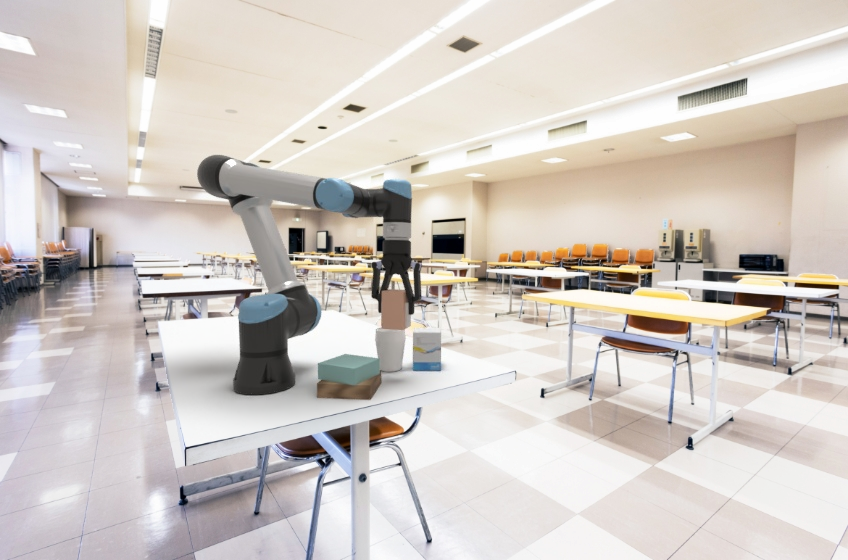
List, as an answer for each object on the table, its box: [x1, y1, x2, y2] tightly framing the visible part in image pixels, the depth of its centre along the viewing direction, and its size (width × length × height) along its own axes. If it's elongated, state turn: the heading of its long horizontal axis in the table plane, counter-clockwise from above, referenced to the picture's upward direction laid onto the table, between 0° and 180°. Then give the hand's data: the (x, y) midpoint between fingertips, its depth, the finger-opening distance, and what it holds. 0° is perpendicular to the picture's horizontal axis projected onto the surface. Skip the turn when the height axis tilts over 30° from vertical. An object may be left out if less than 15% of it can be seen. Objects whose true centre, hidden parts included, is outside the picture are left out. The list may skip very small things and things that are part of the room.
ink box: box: [412, 326, 442, 372], centre depth 125 cm, size 9×8×12 cm
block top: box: [317, 353, 380, 385], centre depth 104 cm, size 11×11×4 cm
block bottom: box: [316, 370, 382, 401], centre depth 104 cm, size 13×13×4 cm
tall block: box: [380, 288, 408, 330], centre depth 110 cm, size 6×6×10 cm
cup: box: [374, 327, 407, 373], centre depth 123 cm, size 9×9×12 cm
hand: (395, 325), depth 110 cm, fingers closed on tall block, 6 cm apart
